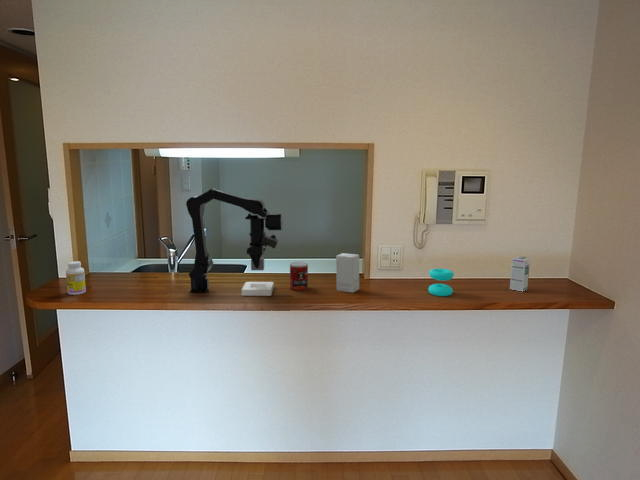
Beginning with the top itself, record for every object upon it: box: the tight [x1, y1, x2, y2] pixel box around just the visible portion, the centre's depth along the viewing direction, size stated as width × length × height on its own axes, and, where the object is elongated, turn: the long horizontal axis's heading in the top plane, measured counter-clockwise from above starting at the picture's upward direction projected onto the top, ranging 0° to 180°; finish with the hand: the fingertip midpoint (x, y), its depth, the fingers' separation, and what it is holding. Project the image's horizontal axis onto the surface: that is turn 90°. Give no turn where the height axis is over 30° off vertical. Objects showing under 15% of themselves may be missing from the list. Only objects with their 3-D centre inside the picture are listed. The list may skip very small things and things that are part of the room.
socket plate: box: [241, 281, 275, 297], centre depth 187 cm, size 12×12×2 cm
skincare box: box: [335, 252, 360, 293], centre depth 189 cm, size 8×7×16 cm
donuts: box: [427, 268, 455, 297], centre depth 186 cm, size 10×10×10 cm
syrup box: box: [509, 255, 531, 293], centre depth 192 cm, size 6×6×14 cm
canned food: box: [289, 261, 309, 292], centre depth 191 cm, size 8×8×11 cm
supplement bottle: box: [65, 260, 87, 296], centre depth 181 cm, size 7×7×13 cm
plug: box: [250, 256, 265, 271], centre depth 185 cm, size 5×4×5 cm
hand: (257, 266), depth 185 cm, fingers closed on plug, 4 cm apart
